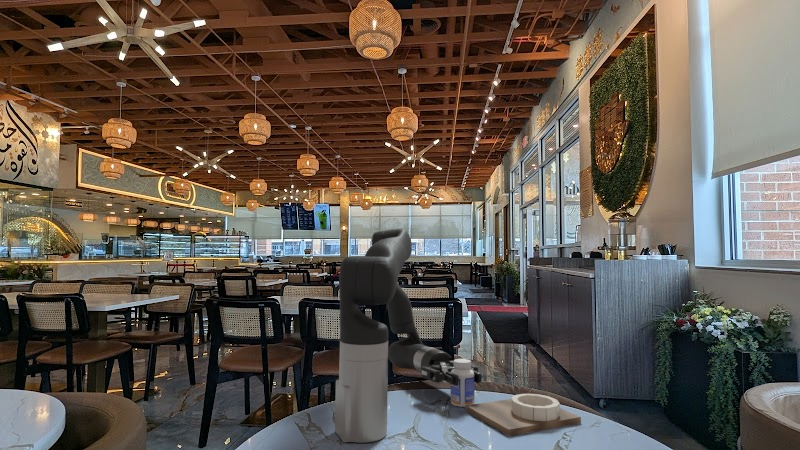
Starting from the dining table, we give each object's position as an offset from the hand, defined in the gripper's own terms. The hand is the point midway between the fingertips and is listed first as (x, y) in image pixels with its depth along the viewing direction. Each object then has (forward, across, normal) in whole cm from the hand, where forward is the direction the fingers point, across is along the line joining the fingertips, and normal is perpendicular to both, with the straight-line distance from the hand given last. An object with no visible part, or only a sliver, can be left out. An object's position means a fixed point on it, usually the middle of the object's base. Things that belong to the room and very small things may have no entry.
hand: (468, 379), depth 100 cm
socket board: (+9, +7, +6) cm, 13 cm away
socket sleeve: (+11, +9, +5) cm, 15 cm away
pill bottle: (-3, 0, +6) cm, 7 cm away
